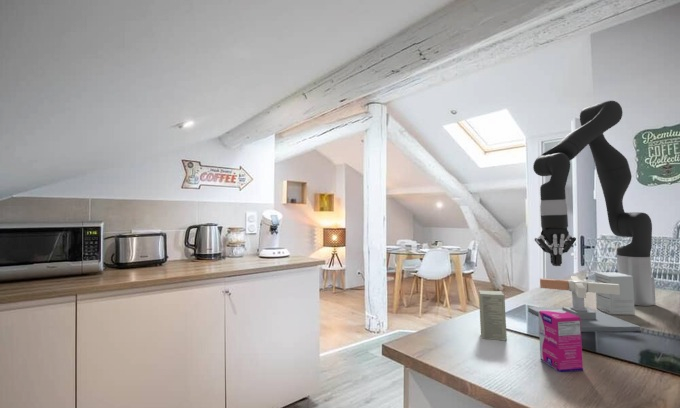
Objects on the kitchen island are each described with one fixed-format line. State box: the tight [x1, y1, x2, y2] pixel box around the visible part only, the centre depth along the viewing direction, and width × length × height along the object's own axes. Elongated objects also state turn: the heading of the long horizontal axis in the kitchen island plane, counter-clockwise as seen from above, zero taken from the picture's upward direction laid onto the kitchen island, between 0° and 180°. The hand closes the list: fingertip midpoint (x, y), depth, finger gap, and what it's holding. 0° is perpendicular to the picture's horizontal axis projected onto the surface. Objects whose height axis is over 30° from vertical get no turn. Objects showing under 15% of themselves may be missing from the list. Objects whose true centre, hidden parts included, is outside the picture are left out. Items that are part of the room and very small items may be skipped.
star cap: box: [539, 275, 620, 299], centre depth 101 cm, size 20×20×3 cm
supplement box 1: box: [538, 309, 584, 373], centre depth 71 cm, size 6×6×12 cm
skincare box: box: [478, 289, 508, 341], centre depth 88 cm, size 6×4×12 cm
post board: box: [527, 291, 642, 333], centre depth 101 cm, size 20×20×9 cm
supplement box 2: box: [594, 271, 636, 316], centre depth 109 cm, size 7×7×13 cm
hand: (556, 265), depth 108 cm, fingers closed
